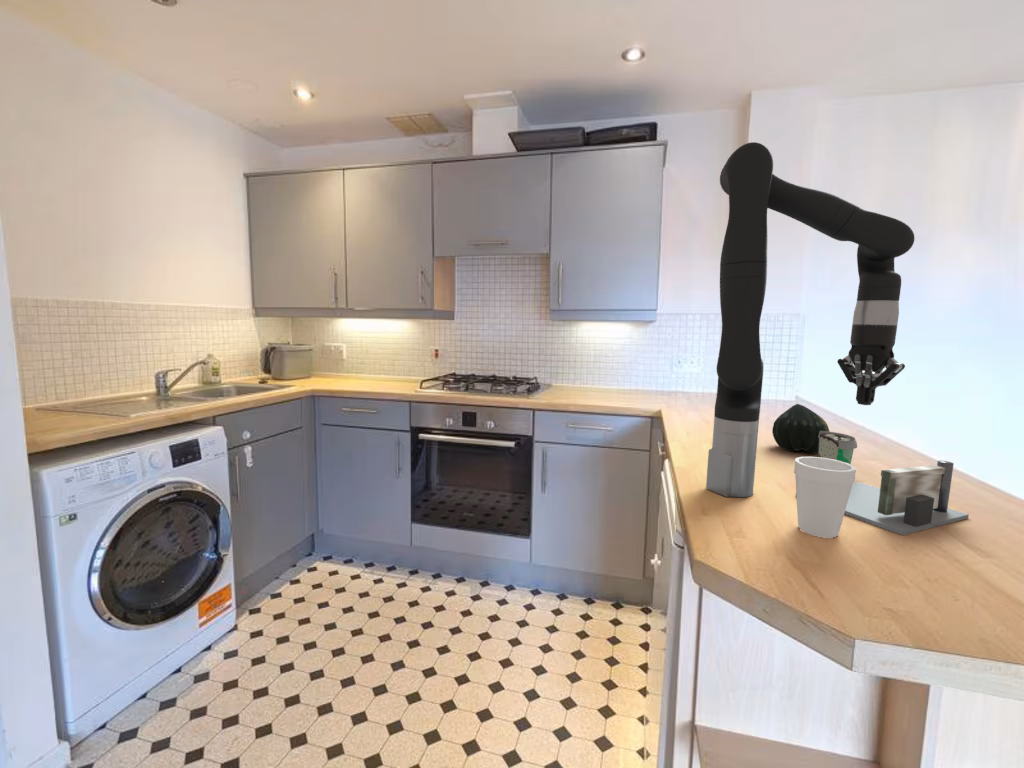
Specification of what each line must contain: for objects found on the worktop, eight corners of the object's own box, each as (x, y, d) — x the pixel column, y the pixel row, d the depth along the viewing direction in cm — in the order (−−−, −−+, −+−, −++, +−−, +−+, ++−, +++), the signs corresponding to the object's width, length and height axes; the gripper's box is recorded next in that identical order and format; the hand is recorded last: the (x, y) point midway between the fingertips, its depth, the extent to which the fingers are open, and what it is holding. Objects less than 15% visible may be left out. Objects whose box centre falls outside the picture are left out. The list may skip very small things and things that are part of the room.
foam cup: (849, 547, 81) (857, 474, 80) (788, 534, 86) (794, 465, 85) (846, 527, 89) (853, 461, 88) (789, 516, 94) (795, 453, 93)
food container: (863, 481, 117) (868, 442, 115) (836, 479, 118) (840, 441, 117) (840, 467, 129) (843, 431, 127) (815, 465, 130) (818, 430, 129)
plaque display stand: (902, 535, 86) (909, 477, 85) (795, 496, 106) (800, 449, 104) (968, 518, 95) (975, 465, 93) (858, 485, 114) (863, 440, 113)
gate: (928, 505, 97) (933, 465, 96) (939, 508, 95) (945, 468, 94) (876, 511, 93) (881, 470, 92) (886, 515, 91) (891, 473, 90)
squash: (823, 443, 133) (830, 400, 140) (765, 436, 143) (774, 396, 149) (827, 467, 142) (833, 425, 149) (772, 459, 152) (780, 420, 158)
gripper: (922, 324, 93) (910, 409, 96) (856, 323, 106) (846, 399, 108) (895, 323, 91) (884, 410, 93) (831, 322, 103) (822, 399, 106)
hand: (864, 404), depth 101 cm, fingers closed
